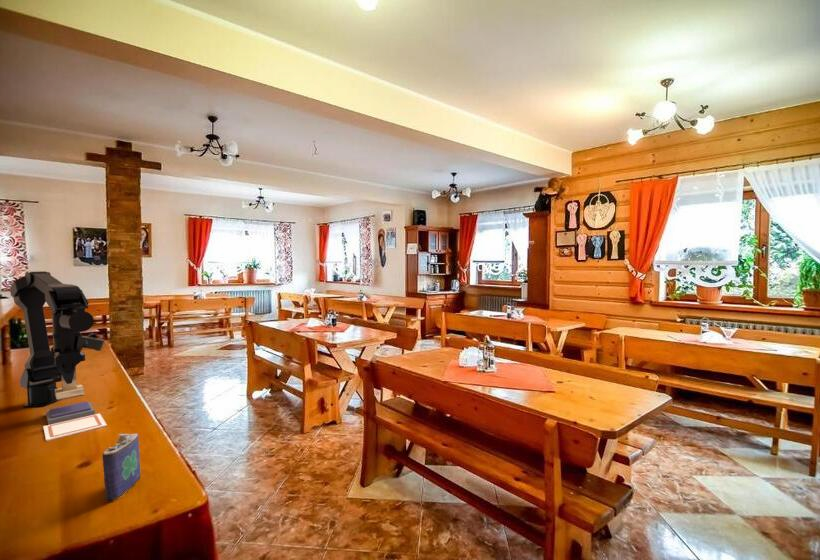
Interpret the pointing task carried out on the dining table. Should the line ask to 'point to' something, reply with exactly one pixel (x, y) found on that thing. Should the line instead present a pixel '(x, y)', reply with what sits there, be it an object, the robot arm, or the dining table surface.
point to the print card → (73, 426)
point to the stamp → (69, 389)
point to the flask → (121, 466)
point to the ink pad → (69, 412)
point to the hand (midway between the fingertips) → (68, 382)
